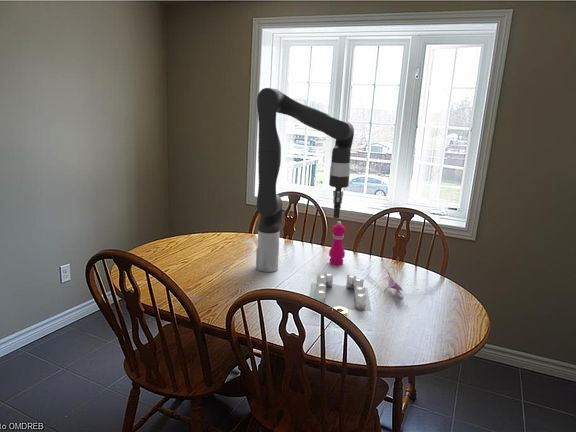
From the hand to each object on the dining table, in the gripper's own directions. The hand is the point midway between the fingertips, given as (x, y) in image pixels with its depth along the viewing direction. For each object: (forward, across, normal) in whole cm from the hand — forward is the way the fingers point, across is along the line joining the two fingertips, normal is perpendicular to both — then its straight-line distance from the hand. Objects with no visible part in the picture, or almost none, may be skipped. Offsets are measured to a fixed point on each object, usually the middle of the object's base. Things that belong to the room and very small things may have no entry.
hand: (336, 217), depth 162 cm
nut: (+26, +32, +3) cm, 41 cm away
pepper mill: (+27, -22, +2) cm, 35 cm away
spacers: (+26, +17, +3) cm, 31 cm away
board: (+27, +22, +3) cm, 35 cm away
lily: (+27, +8, +24) cm, 37 cm away
